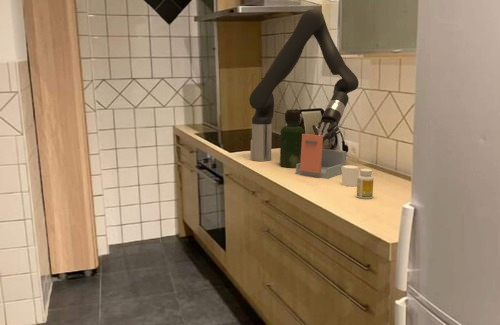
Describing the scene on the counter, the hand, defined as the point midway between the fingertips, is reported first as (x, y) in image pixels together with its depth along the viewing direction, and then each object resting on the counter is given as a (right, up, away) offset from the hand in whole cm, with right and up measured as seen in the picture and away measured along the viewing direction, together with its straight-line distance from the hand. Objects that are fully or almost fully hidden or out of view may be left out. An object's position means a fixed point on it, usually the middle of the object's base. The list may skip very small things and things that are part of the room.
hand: (318, 145), depth 209 cm
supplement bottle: (+11, -19, -33) cm, 40 cm away
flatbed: (+2, -11, +5) cm, 12 cm away
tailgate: (-4, -11, -2) cm, 12 cm away
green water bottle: (-9, -9, +19) cm, 23 cm away
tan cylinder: (+10, -16, -15) cm, 24 cm away
